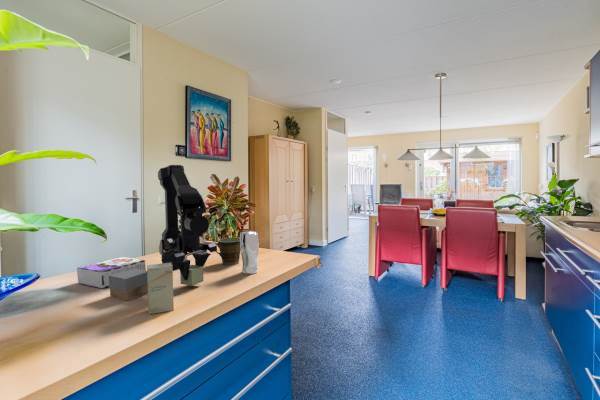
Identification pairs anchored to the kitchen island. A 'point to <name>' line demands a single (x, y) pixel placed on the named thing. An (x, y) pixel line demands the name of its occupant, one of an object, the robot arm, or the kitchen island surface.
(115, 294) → the walnut block
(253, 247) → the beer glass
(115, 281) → the charcoal block
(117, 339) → the kitchen island surface
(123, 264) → the candy box
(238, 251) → the ceramic cup
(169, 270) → the skincare box
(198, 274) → the olive cube
